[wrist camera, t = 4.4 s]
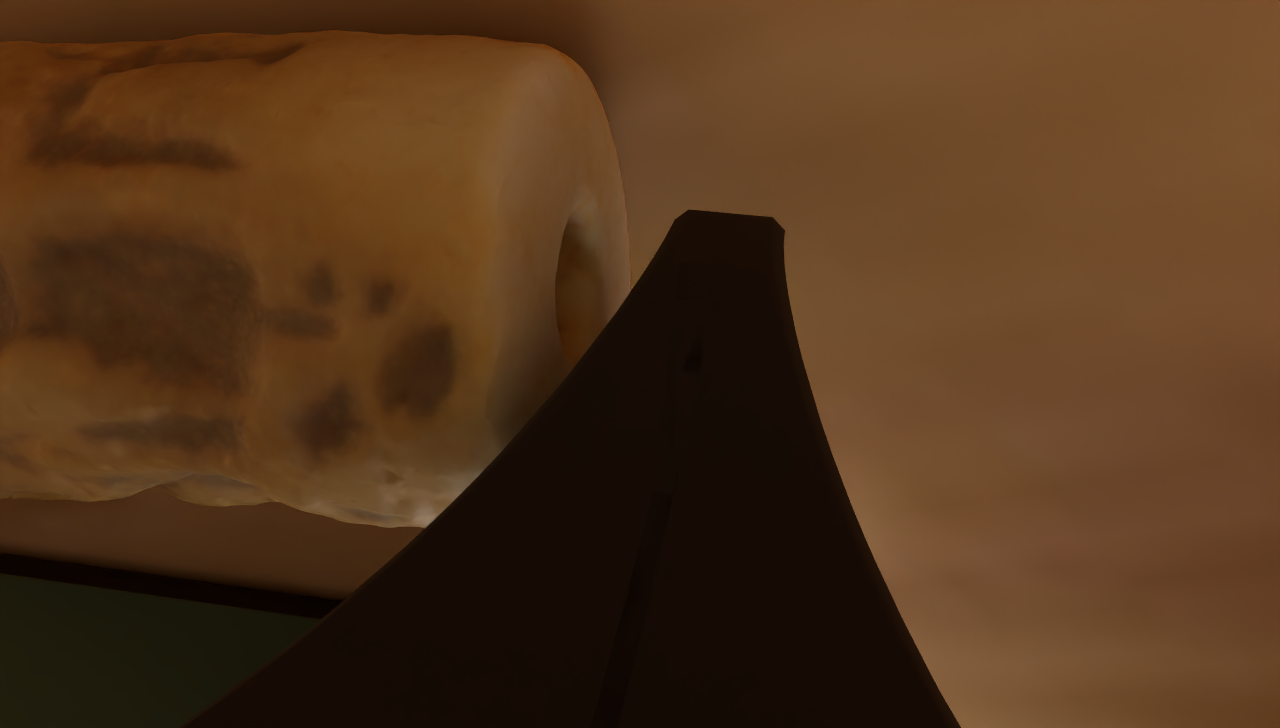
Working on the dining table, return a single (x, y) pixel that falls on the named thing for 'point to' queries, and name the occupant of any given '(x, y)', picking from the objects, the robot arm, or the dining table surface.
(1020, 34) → the dining table surface
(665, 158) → the dining table surface
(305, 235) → the tan cylinder with hole
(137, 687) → the toaster
